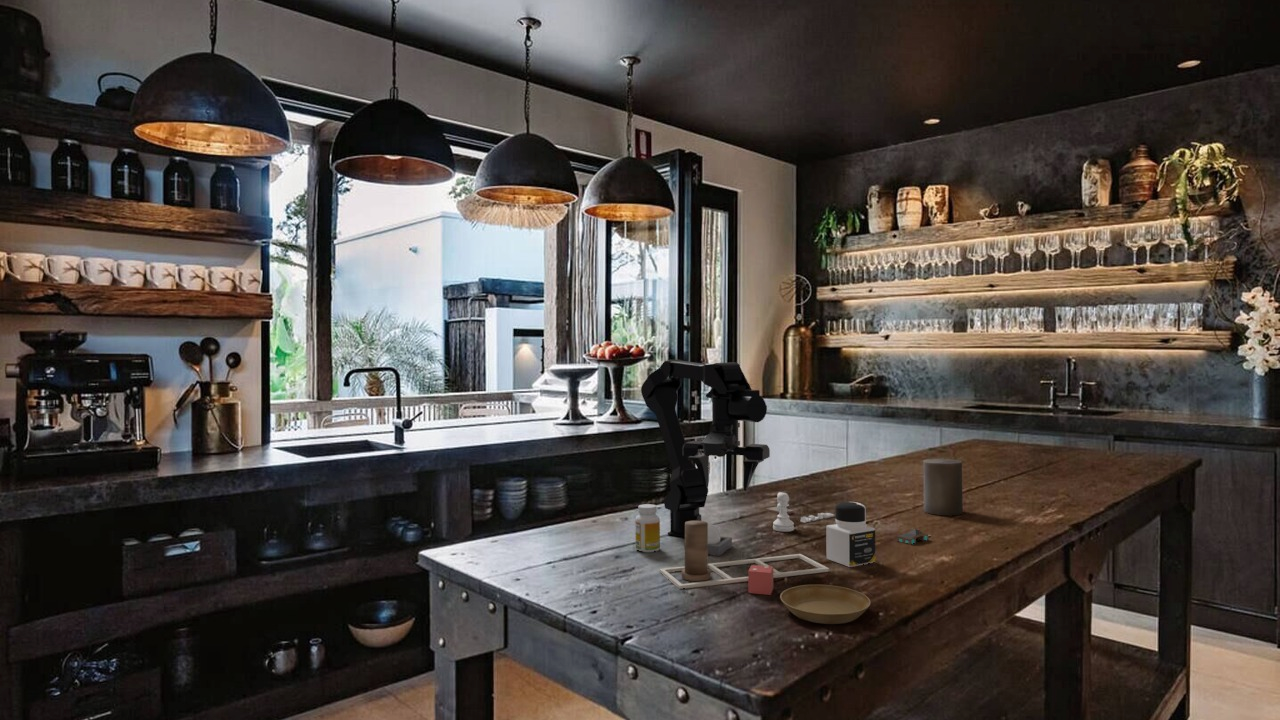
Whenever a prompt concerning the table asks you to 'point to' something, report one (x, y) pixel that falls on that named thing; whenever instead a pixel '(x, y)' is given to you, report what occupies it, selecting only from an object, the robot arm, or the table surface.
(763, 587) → the red die
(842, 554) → the medicine bottle
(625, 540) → the table surface
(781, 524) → the chess pawn
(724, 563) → the track
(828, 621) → the plant saucer
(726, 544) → the dome base
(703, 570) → the brown flanged cylinder
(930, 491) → the pillar candle
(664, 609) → the table surface
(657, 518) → the supplement bottle
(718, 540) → the white ball
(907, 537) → the game pieces
